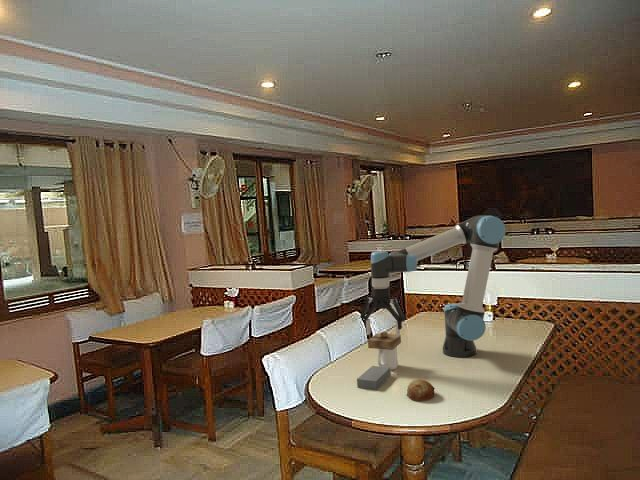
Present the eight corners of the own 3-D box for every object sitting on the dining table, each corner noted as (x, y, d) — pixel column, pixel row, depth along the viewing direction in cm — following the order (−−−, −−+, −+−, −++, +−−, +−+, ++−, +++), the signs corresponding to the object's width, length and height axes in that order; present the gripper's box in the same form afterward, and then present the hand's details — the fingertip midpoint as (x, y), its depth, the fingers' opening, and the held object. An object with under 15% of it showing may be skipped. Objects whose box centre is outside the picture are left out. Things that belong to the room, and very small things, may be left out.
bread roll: (409, 401, 180) (399, 383, 179) (432, 387, 180) (422, 369, 180) (416, 412, 170) (406, 393, 169) (441, 397, 170) (430, 378, 170)
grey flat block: (390, 375, 197) (390, 367, 197) (376, 390, 183) (375, 381, 183) (372, 373, 201) (372, 365, 201) (357, 387, 187) (356, 378, 187)
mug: (386, 374, 199) (385, 350, 199) (370, 370, 205) (369, 347, 204) (401, 365, 208) (400, 342, 208) (385, 362, 214) (384, 340, 213)
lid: (401, 342, 208) (400, 330, 208) (392, 350, 198) (391, 337, 198) (377, 340, 213) (376, 328, 213) (368, 347, 204) (367, 335, 203)
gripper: (411, 286, 201) (413, 335, 203) (358, 284, 213) (360, 331, 215) (405, 289, 195) (408, 340, 196) (351, 287, 207) (353, 335, 208)
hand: (383, 335), depth 206 cm, fingers open, 13 cm apart
